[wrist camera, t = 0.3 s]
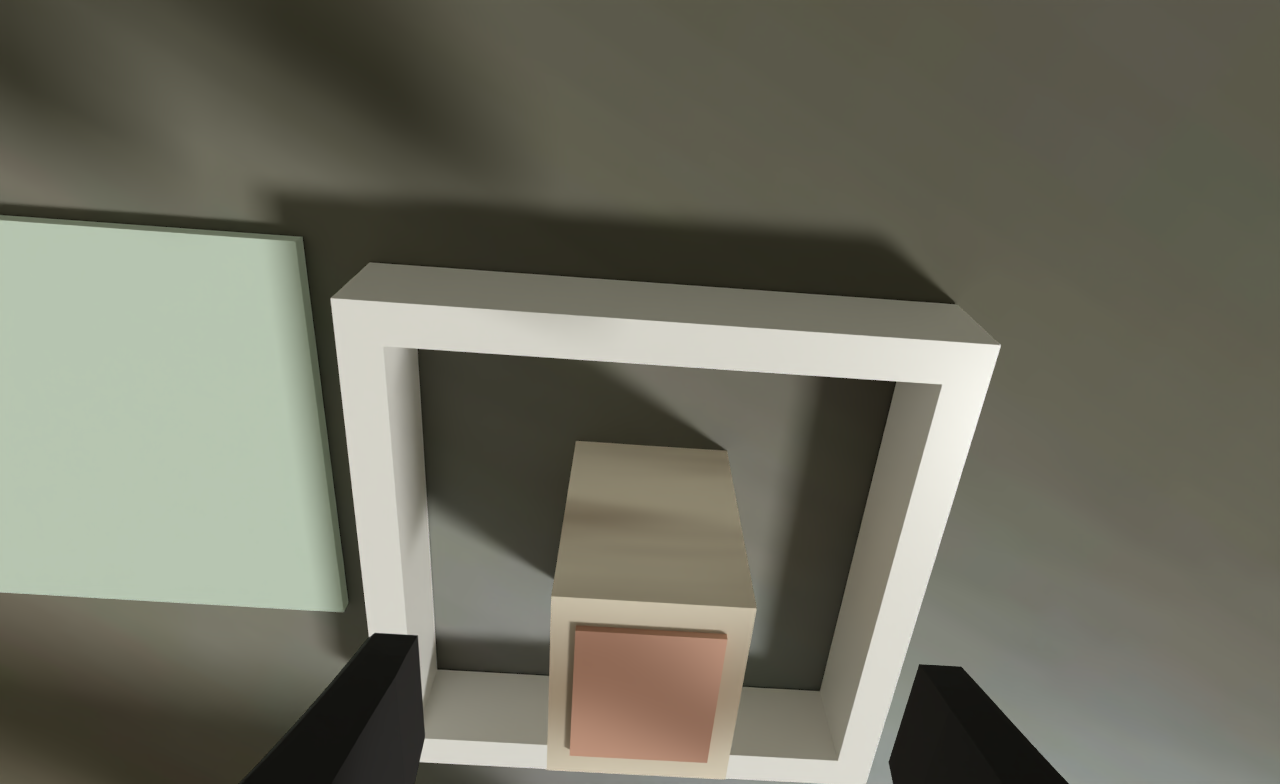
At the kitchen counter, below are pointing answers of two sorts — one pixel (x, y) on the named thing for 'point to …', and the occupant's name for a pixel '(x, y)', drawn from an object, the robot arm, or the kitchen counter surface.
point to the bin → (671, 336)
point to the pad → (162, 418)
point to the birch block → (648, 614)
